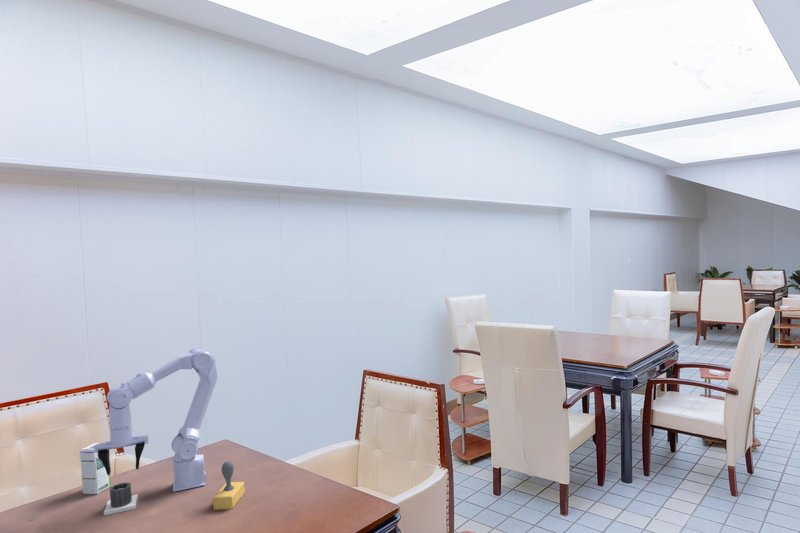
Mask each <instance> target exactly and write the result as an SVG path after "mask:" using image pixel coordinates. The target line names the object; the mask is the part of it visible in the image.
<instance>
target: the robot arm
mask: <svg viewBox="0 0 800 533" xmlns="http://www.w3.org/2000/svg"><path fill="white" fill-rule="evenodd" d="M192 369H193V370H195V372H196V374H197V375H198V377H199V380H198V384H197V388H196V390H195V393H194V395H193V397H192V401H191V403H190V406H189V408H188V412H187V415H186V418H185V421H184V423H183V425H182V427H181V428H180V429H179V430H178V432H177V434H176V435H175V437H174V438H173V439H172V441H171V443H170V444H171V450H172V451H173V452H174V456H173V457H172V460H173V461H172V462H173V463H172V464H173V483H172V484H173V485H172V492H175V493H176V492H179V491H184V490H189V489H193V488H198V487H203V486H205V485H206V480H205V479H206V470H205V463H204V462H205V460H204V459H205V458H204V454H198V451H199V444H198V442H199V440H200V428H201V425H202V423H203V420H204V417H205V414H206V412H207V408H208V406H209V403H210V400H211V397H212V394H213V392H214V389H215V386H216V383H217V381H218V372H217V366H216V359H215V358H214V357H213V355H212V354H211V353H210V352H208V351H207V350H203V349H202V348H199V347H196V348H192V349H190V350H189V351H186V352H183V353H182V354H180V355H179V356H176V357H175V358H174V359H172V360H170V361H168V362H167V363H165V364H164V365H161V366H160V367H159V368H157V369H155V370H153V371H152V372H145V371H144V372H142V373H141V372H138V373H136V374H135V375H136V376H135V377H133V378H132V379H129V380H128V381H123V382H121V383H120V386H115V387H112V388H111V389H110V390H109V391H108V392H107V396H106V397H105V398H106V401H107V403H108V412H109V413H108V421H109V423H108V424H109V436H110V440H109V441H105V442H100V443H101V444H96V445H94V447H93V449H94V453H97V452H98V458H99V459H100V460H101V462H102V463H103V465H104V467H105V469H106V472H107V475H110V476H111V471H112V470H111V469H112V468H111V463H110V450H114V449H121V448H125V447H133V446H134V454H135V470H139V468H140V461H141V460H140V459H141V457H142V454H143V450H144V449H145V445H147V444H149V435H142V436H133V433H132V432H133V430H132V417H131V416H132V415H131V409H130V403H131V401H132V400H135V399H137V398H139V397H140V396H142V395H144V394H145V393H147V392H149V391H151V390H152V389H154V388H155V385H156V383H157V382H158V381H160V380H162V379H164V378H166V377H168V376H170V375H172V374H174V373H176V372H178V371H180V370H192Z"/></svg>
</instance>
